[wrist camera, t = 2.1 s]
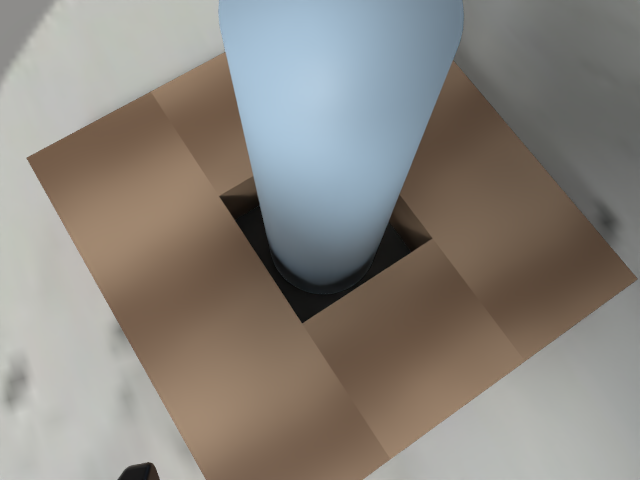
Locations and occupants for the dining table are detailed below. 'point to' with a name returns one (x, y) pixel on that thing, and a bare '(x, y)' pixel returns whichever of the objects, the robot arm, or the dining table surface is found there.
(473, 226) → the pocket block
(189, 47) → the dining table surface
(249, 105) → the peg
